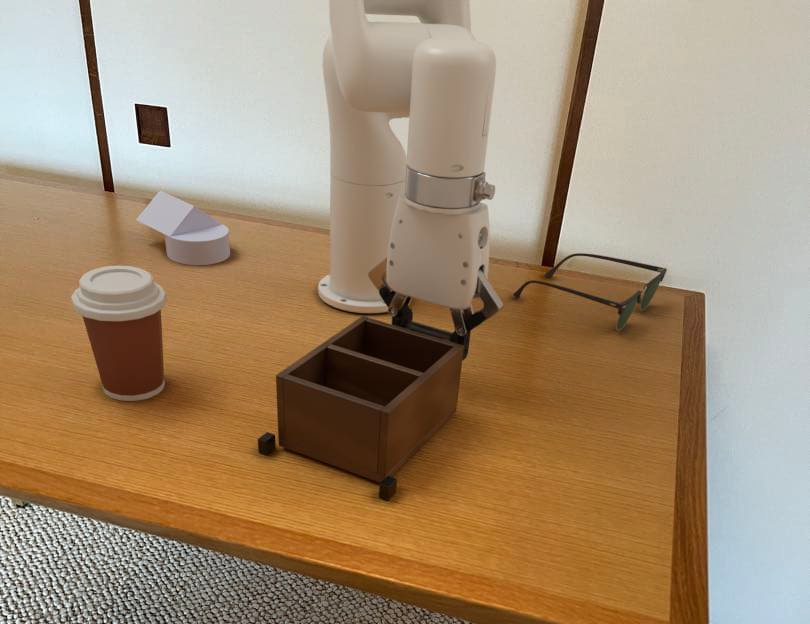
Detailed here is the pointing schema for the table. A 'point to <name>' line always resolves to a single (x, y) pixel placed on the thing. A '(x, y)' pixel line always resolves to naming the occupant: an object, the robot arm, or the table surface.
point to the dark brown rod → (386, 486)
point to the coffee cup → (124, 329)
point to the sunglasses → (623, 308)
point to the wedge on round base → (187, 231)
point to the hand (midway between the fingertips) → (428, 353)
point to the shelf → (369, 395)
